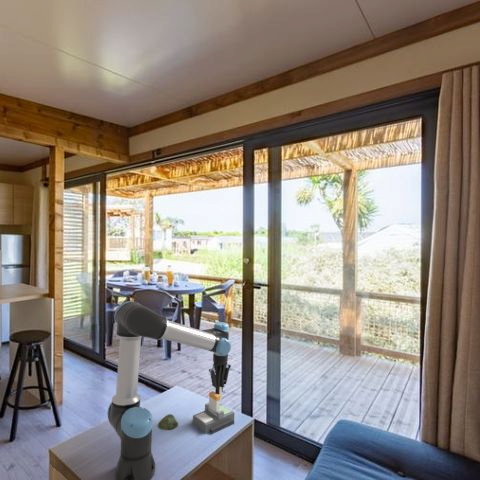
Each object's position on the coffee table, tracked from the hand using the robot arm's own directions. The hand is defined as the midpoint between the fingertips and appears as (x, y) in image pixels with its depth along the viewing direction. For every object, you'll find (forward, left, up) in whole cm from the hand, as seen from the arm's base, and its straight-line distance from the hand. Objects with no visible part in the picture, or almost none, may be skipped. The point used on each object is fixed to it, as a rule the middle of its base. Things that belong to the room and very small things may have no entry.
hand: (218, 399), depth 171 cm
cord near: (-3, -7, -11) cm, 13 cm away
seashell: (-22, +12, -11) cm, 27 cm away
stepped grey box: (-3, 0, -11) cm, 11 cm away
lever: (-3, 0, -6) cm, 7 cm away
